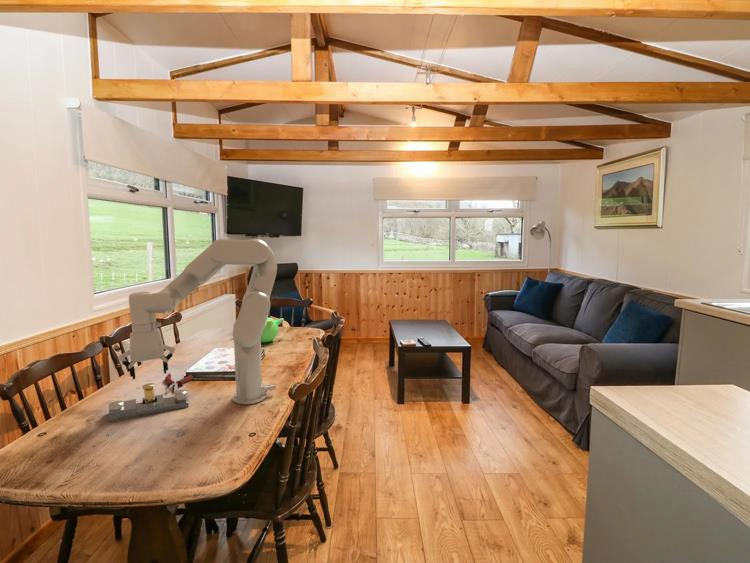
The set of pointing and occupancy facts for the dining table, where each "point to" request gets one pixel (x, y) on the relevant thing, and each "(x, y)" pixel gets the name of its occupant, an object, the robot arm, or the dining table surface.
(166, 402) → the grey notched rail
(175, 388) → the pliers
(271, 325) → the green teapot
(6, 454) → the dining table surface
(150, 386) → the brass pin
